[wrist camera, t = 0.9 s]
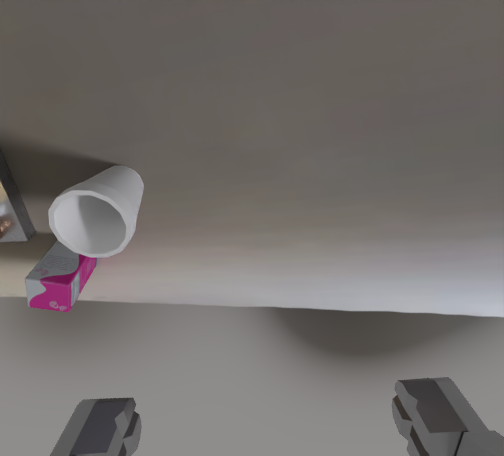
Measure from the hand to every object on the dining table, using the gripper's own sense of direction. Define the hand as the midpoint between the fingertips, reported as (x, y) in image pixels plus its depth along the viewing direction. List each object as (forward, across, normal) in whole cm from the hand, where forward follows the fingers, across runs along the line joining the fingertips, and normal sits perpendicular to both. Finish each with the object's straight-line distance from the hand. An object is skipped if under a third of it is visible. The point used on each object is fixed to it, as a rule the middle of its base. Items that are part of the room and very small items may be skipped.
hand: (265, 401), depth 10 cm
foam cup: (+41, +20, +3) cm, 45 cm away
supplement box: (+42, +31, +14) cm, 54 cm away
